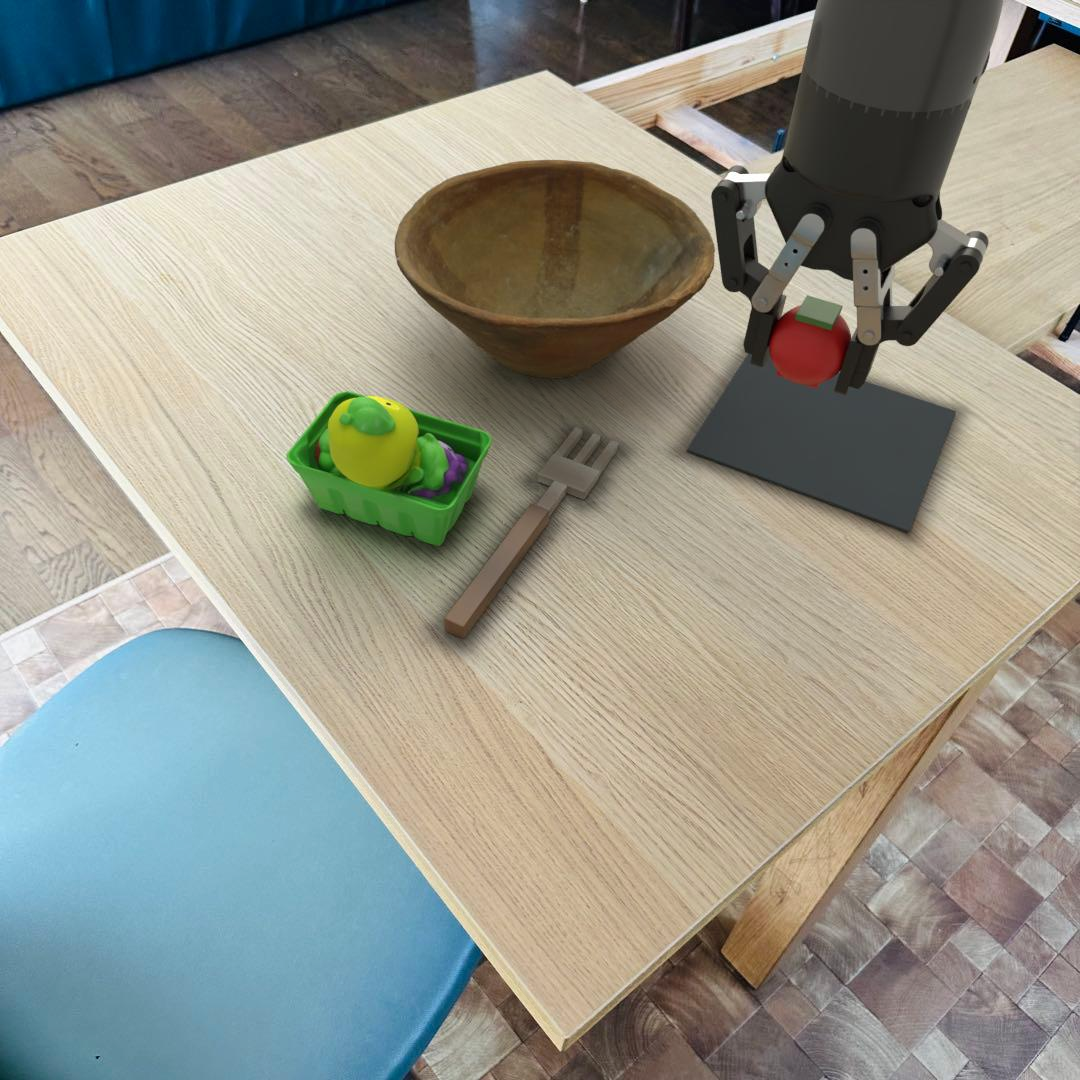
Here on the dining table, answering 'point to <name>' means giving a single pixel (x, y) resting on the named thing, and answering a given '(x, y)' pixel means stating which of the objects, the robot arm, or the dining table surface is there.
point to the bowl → (553, 260)
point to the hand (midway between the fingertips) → (802, 370)
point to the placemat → (828, 441)
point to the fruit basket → (390, 465)
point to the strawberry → (810, 342)
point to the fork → (530, 526)
